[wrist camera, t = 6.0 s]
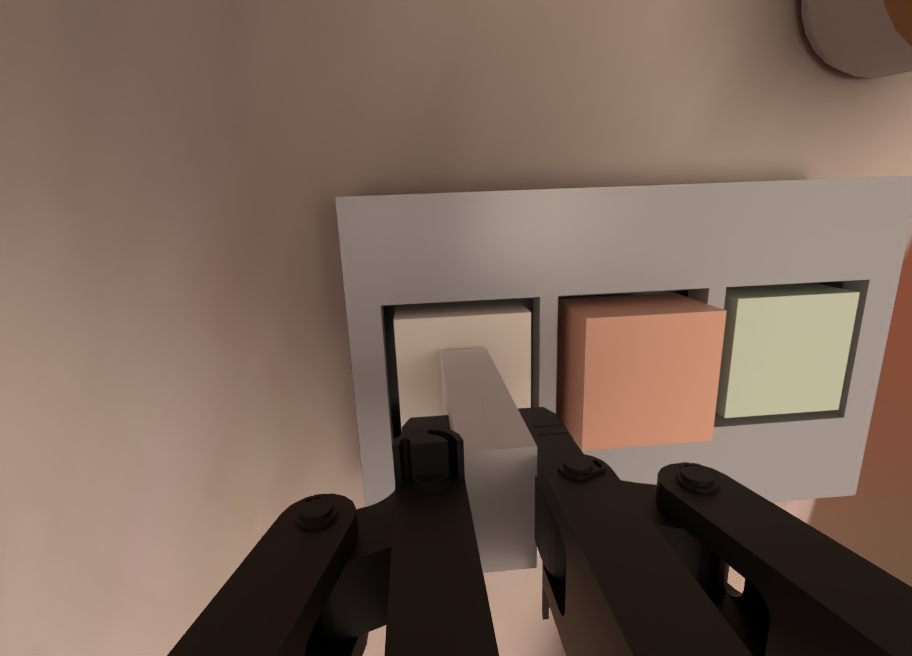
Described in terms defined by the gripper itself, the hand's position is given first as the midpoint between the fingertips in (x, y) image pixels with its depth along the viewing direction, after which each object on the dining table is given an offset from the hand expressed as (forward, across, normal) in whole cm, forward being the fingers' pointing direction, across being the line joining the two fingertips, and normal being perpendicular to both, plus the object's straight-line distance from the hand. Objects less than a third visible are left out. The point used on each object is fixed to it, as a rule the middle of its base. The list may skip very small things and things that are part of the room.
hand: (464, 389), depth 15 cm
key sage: (+4, +12, 0) cm, 12 cm away
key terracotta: (+2, +6, 0) cm, 6 cm away
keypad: (+5, +6, 0) cm, 8 cm away
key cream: (+3, 0, 0) cm, 3 cm away
